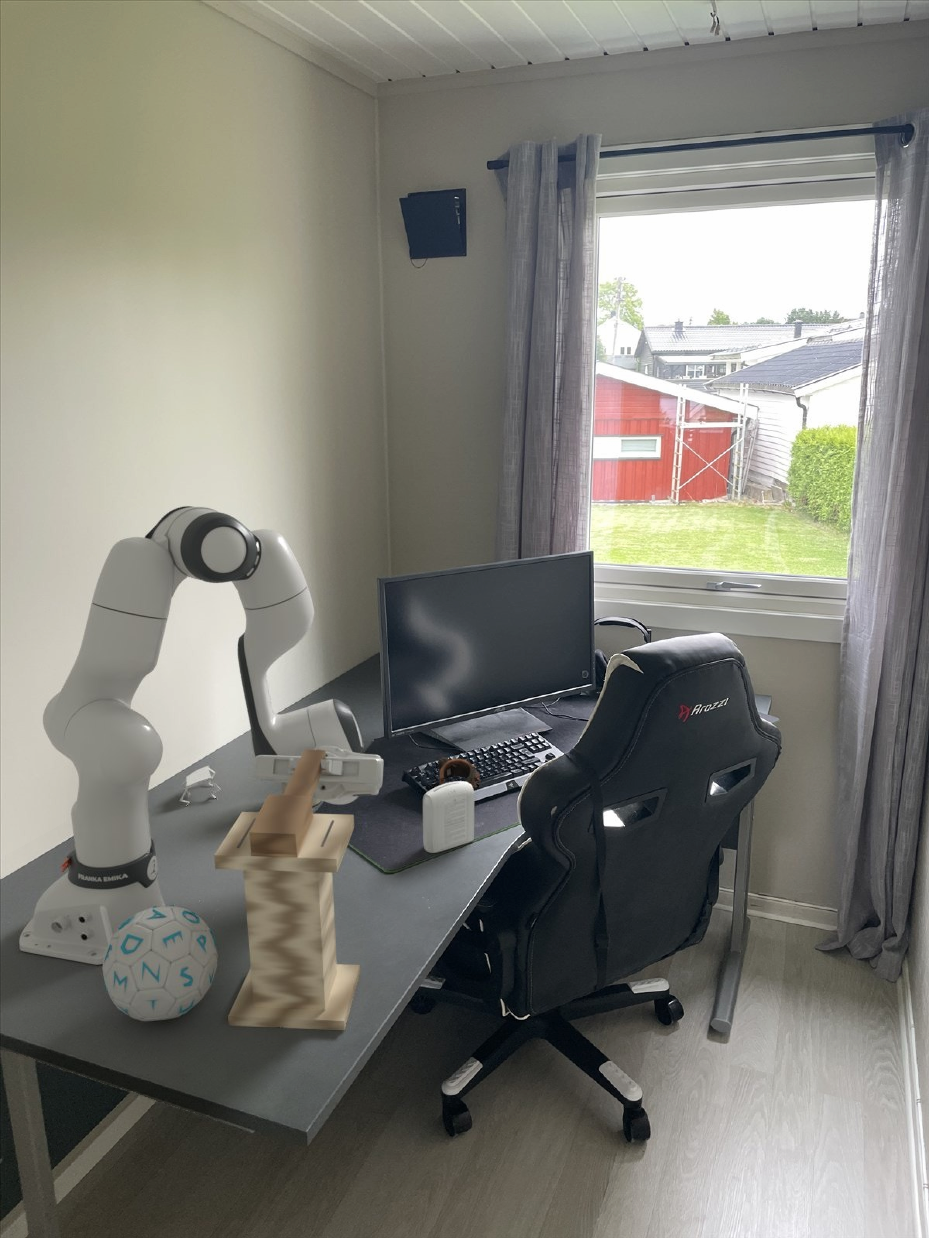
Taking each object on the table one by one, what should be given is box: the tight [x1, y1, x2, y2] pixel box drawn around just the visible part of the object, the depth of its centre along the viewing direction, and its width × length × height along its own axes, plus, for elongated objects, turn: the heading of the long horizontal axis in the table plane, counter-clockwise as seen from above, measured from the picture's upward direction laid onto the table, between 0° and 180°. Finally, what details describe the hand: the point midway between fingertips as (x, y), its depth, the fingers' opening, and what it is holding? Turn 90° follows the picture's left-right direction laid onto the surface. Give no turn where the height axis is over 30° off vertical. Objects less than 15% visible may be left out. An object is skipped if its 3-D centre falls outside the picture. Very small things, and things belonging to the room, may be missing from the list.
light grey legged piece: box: [179, 765, 221, 807], centre depth 191 cm, size 12×8×5 cm
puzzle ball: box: [102, 904, 219, 1022], centre depth 125 cm, size 15×15×15 cm
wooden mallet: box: [249, 750, 326, 857], centre depth 127 cm, size 6×24×4 cm, turn 176°
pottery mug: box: [437, 756, 481, 789], centre depth 193 cm, size 12×10×8 cm
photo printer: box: [422, 780, 475, 854], centre depth 170 cm, size 10×4×12 cm, turn 123°
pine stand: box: [213, 811, 361, 1031], centre depth 126 cm, size 16×12×26 cm
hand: (309, 764), depth 135 cm, fingers closed on wooden mallet, 3 cm apart
